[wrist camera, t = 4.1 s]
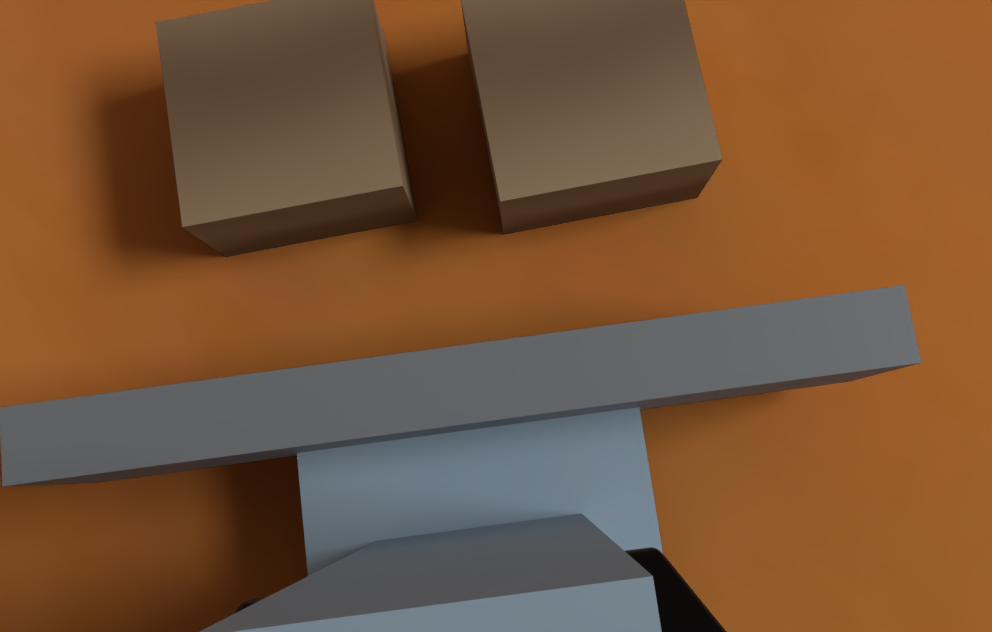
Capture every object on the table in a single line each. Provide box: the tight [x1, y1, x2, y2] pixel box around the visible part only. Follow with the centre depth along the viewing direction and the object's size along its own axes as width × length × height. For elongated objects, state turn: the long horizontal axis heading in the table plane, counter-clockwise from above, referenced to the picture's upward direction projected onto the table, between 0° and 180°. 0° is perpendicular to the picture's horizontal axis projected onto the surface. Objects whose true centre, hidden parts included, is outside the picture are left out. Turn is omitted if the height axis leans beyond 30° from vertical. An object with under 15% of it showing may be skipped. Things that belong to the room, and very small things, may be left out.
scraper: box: [0, 285, 921, 632], centre depth 11 cm, size 6×14×10 cm, turn 97°
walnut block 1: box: [156, 0, 418, 257], centre depth 17 cm, size 4×4×2 cm
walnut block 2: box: [461, 0, 722, 235], centre depth 17 cm, size 4×4×2 cm
